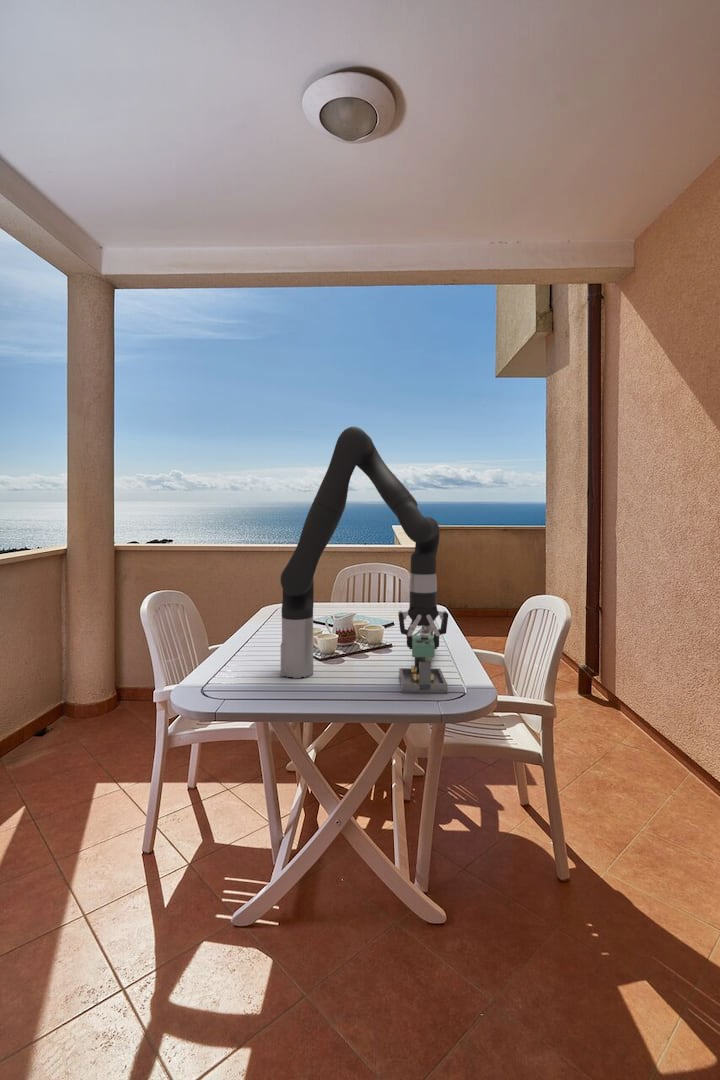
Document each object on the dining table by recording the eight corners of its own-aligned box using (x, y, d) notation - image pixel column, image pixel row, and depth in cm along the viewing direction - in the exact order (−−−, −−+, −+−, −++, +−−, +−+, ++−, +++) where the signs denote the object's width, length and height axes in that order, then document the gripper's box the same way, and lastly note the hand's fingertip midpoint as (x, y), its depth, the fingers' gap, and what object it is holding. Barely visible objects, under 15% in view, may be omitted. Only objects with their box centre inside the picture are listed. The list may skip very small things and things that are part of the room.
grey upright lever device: (433, 625, 152) (437, 608, 177) (412, 623, 153) (419, 607, 178) (432, 670, 153) (436, 647, 178) (411, 668, 154) (418, 645, 179)
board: (412, 657, 136) (412, 641, 135) (411, 646, 145) (411, 632, 145) (434, 657, 135) (434, 641, 135) (432, 647, 145) (432, 632, 144)
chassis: (402, 693, 134) (402, 662, 134) (399, 676, 147) (399, 648, 147) (447, 693, 134) (447, 662, 134) (439, 676, 147) (440, 648, 146)
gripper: (398, 591, 135) (398, 652, 136) (451, 591, 135) (451, 652, 136) (396, 587, 143) (396, 644, 144) (446, 586, 143) (446, 644, 144)
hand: (422, 648), depth 140 cm, fingers closed on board, 6 cm apart
